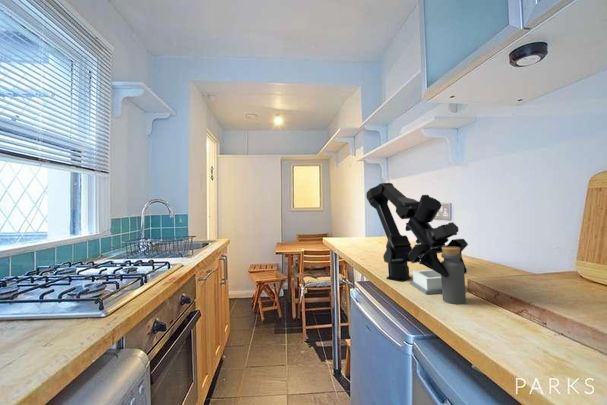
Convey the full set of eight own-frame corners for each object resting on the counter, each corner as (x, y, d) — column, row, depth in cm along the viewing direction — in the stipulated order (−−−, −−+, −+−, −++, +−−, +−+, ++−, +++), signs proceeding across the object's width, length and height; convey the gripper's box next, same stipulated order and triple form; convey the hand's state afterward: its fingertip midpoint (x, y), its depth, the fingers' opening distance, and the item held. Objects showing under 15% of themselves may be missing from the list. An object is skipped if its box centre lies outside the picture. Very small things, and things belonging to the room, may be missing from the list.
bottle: (445, 304, 78) (442, 249, 78) (440, 297, 84) (437, 246, 84) (469, 304, 77) (465, 248, 77) (462, 297, 83) (459, 245, 83)
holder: (410, 283, 99) (409, 270, 99) (444, 281, 99) (443, 268, 99) (426, 294, 87) (425, 279, 87) (464, 291, 87) (463, 277, 87)
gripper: (412, 216, 81) (448, 261, 70) (460, 212, 88) (498, 253, 77) (395, 241, 88) (425, 286, 78) (441, 235, 95) (473, 276, 85)
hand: (456, 274), depth 79 cm, fingers open, 7 cm apart
